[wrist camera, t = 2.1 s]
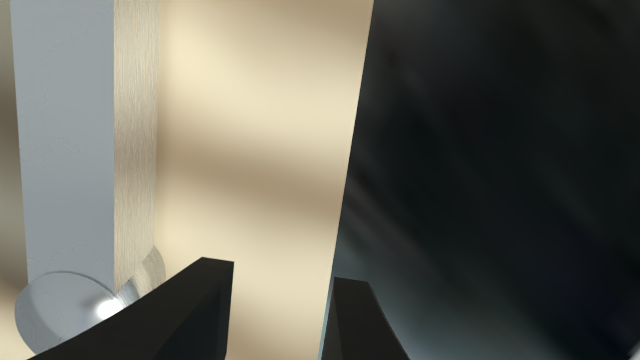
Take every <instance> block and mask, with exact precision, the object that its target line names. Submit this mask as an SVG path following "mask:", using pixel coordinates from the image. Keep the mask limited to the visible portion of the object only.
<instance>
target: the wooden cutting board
mask: <svg viewBox="0 0 640 360" xmlns="http://www.w3.org/2000/svg"><path fill="white" fill-rule="evenodd" d="M373 1H374V0H160V27H159V65H158V103H157V140H156V178H155V216H154V245H155V247H156V248H157V249H158V251H159V252H160V254H161V256H162V258H163V261H164V264H165V269H166V279H165V281H167V280H168V279H170V278H171V277H173V276H174V275H176V274H177V273H178V272H180V271H181V270H183V269H184V268H186V267H187V266H189V265H190V264H192V263H193V262H195V261H196V260H198V259H199V258H201V257H207V258H214V259H220V260H227V261H234V273H233V284H232V296H231V308H230V319H229V331H228V343H227V353H226V357H225V360H317V358H318V351H319V345H320V339H321V332H322V326H323V320H324V313H325V307H326V301H327V294H328V288H329V281H330V275H331V269H332V262H333V256H334V250H335V243H336V237H337V231H338V224H339V218H340V211H341V205H342V199H343V192H344V186H345V180H346V173H347V167H348V161H349V154H350V148H351V141H352V135H353V129H354V122H355V116H356V110H357V103H358V97H359V91H360V84H361V78H362V71H363V65H364V59H365V52H366V46H367V40H368V33H369V27H370V21H371V14H372V8H373ZM27 285H28V271H27V255H26V240H25V225H24V210H23V194H22V179H21V164H20V149H19V134H18V118H17V103H16V88H15V73H14V57H13V42H12V27H11V12H10V0H0V360H27V359H29V358H31V357H33V356H35V355H36V354H35V353H33V352H32V351H31V349H30V348H29V347H28V346H27V345H26V344H25V342H24V341H23V339H22V338H21V336H20V334H19V332H18V329H17V326H16V323H15V317H14V310H15V304H16V301H17V298H18V296H19V294H20V293H21V291H22V290H23V289H24V288H25V287H26V286H27Z"/></svg>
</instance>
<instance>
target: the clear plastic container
mask: <svg viewBox="0 0 640 360" xmlns="http://www.w3.org/2000/svg"><path fill="white" fill-rule="evenodd" d="M10 12H11V27H12V42H13V57H14V73H15V88H16V103H17V118H18V134H19V149H20V164H21V179H22V194H23V210H24V225H25V240H26V255H27V271H28V285H27V286H26V287H25V288H24V289H23V290H22V291H21V293H20V294H19V296H18V298H17V301H16V304H15V310H14V317H15V323H16V326H17V329H18V332H19V334H20V336H21V338H22V339H23V341H24V342H25V344H26V345H27V346H28V347H29V348H30V349H31V351H32V352H33V353H35V354H36V355H37V354H40V353H42V352H44V351H46V350H48V349H50V348H52V347H55V346H57V345H59V344H61V343H63V342H65V341H67V340H69V339H71V338H73V337H74V336H76V335H78V334H80V333H82V332H84V331H86V330H87V329H89V328H91V327H93V326H94V325H96V324H98V323H100V322H101V321H103V320H105V319H106V318H108V317H110V316H112V315H113V314H115V313H117V312H118V311H120V310H122V309H124V308H125V307H127V306H129V305H130V304H132V303H134V302H135V301H137V300H138V299H140V298H141V297H143V296H144V295H146V294H147V293H149V292H150V291H152V290H154V289H155V288H157V287H158V286H159V285H161V284H162V283H164V282H165V279H166V269H165V264H164V261H163V258H162V256H161V254H160V252H159V251H158V249H157V248H156V247H155V245H154V216H155V178H156V140H157V103H158V65H159V27H160V0H10Z"/></svg>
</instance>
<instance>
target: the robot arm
mask: <svg viewBox="0 0 640 360" xmlns="http://www.w3.org/2000/svg"><path fill="white" fill-rule="evenodd" d="M233 273H234V261H227V260H220V259H214V258H207V257H201V258H199V259H198V260H196V261H195V262H193V263H192V264H190V265H189V266H187V267H186V268H184V269H183V270H181V271H180V272H178V273H177V274H176V275H174V276H173V277H171V278H170V279H168V280H167V281H165V282H164V283H162V284H161V285H159V286H158V287H157V288H155V289H154V290H152V291H150V292H149V293H147V294H146V295H144V296H143V297H141V298H140V299H138V300H137V301H135V302H134V303H132V304H130V305H129V306H127V307H125V308H124V309H122V310H120V311H118V312H117V313H115V314H113V315H112V316H110V317H108V318H106V319H105V320H103V321H101V322H100V323H98V324H96V325H94V326H93V327H91V328H89V329H87V330H86V331H84V332H82V333H80V334H78V335H76V336H74V337H73V338H71V339H69V340H67V341H65V342H63V343H61V344H59V345H57V346H55V347H52V348H50V349H48V350H46V351H44V352H42V353H40V354H37V355H35V356H33V357H31V358H29V359H27V360H225V357H226V353H227V343H228V331H229V319H230V308H231V296H232V284H233ZM321 360H410V359H409V357H408V355H407V354H406V352H405V350H404V349H403V347H402V345H401V344H400V342H399V340H398V339H397V337H396V335H395V334H394V332H393V330H392V328H391V326H390V325H389V323H388V321H387V319H386V317H385V315H384V313H383V311H382V309H381V307H380V305H379V303H378V301H377V298H376V296H375V294H374V291H373V289H372V287H371V286H370V285H369V283H368V282H364V281H358V280H351V279H345V278H338V277H334V283H333V290H332V296H331V302H330V308H329V314H328V321H327V327H326V333H325V339H324V346H323V352H322V358H321Z"/></svg>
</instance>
